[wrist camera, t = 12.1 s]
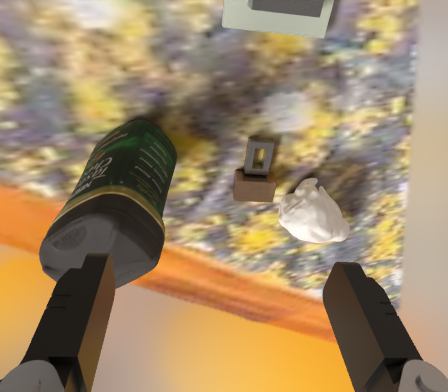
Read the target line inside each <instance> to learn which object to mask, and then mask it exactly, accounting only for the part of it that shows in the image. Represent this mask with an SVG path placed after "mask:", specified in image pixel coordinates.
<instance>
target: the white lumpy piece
mask: <svg viewBox="0 0 448 392" xmlns="http://www.w3.org/2000/svg"><path fill="white" fill-rule="evenodd" d="M317 182H318V180H317V179H316V178H308V179H305V180H303V181H302V182H301V183H300V185H299V186H298V187H297V188H296V190H295V192H294V193H293V194H292V193H290V194H287V195H285V196H284V197H283V198H282V200H281V205H280V207H279V222H280V224H281V225H282V226H283V227H285V228H286V229H287V230H288V231H289V232H290V233H291V234H292V235H293V236H295V237H297V238H298V239H300V240H305V241H310V242H315V243H324V242H327V241H329V240H331V241H337V242H339V241H343V240H345V239H346V238H347V236H348V234H349V224H348V222H347V221H346V219H345V218H343V217H342V216H344V215H343V214H345V213H346V212H345V213H343V212H342V213H343V214H342V213H341V210H340V209H339V206H338V205H337V204H336V202H335V201H334V200H333V199H331V198H330V196H329V195H328V194H327V193H326V191H325V190H324V188H323V187H322V186H320V187H319V190H317V189H316V187H315V185H316V184H317ZM318 191H319V192H318Z"/></svg>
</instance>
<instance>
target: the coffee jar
mask: <svg viewBox="0 0 448 392" xmlns="http://www.w3.org/2000/svg"><path fill="white" fill-rule="evenodd" d="M176 160H177V154H176V150H175V148H174V146H173V145H172V143H171V141H170V140H169V139H168V137H167V136H166V135H165V134H164V133H163V131H162V130H161V129H159V128H158V127H157V126H156V125H155V124H153V123H151V122H149V121H146V120H135V121H131V122H129V123H127V124H125V125H123V126H121V127H119V128H117V129H116V130H114V131H113V132H111V133H110V134H108V135H107V136H106V137H105V138H104V139H102V140H101V141H100V142H99V143H98V144H97V145H96V147H95V148H94V150H93V152H92V154H91V156H90V158H89V160H88V162H87V165H86V167H85V169H84V172H83V174H82V176H81V178H80V180H79V182H78V184H77V186H76V188H75V189H74V191H73V193H72V195H71V196H70V198H69V200H68V201H67V203H66V204H65V206H64V207H63V209H62V210H61V211H60V213H59V214H58V215H57V217H56V218H55V220H54V221H53V223H52V224H51V226H50V228H49V230H48V232H47V234H46V237H45V238H44V240H43V241H42V244H41V247H40V251H39V257H40V262H41V265H42V269H43V271H44V272H45V273H46V274H47V275H48V276H49V277H51V278H52V279H53V280H55V281H56V282H57V281H58V280H59V279H60V278H61V277H62V276H63V275H64V274H65V273H66V272H67V271H68V270H69V269H70V268H82V265H83V262H84V260H85V257H86V255H87V254H88V253H111V254H112V259H113V268H114V276H115V289H116V288H118V287H121V286H123V285H125V284H127V283H129V282H131V281H133V280H135V279H137V278H139V277H141V276H143V275H145V274H146V273H148V272H149V271H151V270H152V269H154V268H155V267H156V265H157V264H158V261H159V259H160V255H161V252H162V248H163V245H164V240H165V227H164V223H163V220H162V216H163V211H164V206H165V202H166V198H167V194H168V190H169V186H170V183H171V179H172V176H173V173H174V169H175V165H176Z"/></svg>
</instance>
